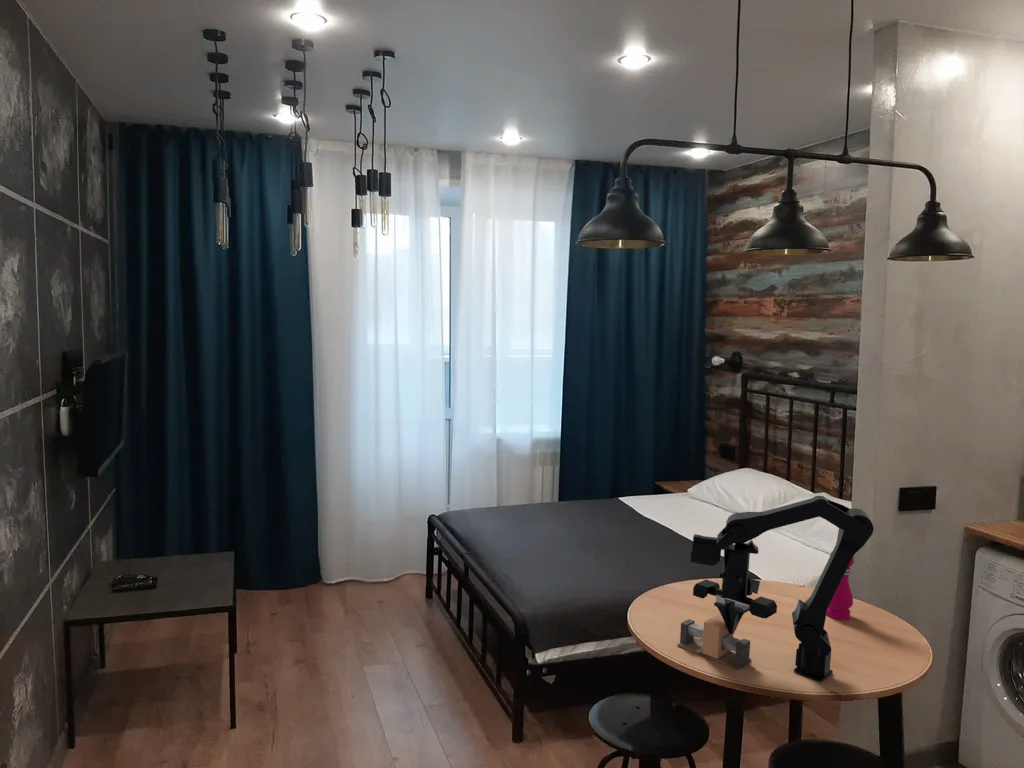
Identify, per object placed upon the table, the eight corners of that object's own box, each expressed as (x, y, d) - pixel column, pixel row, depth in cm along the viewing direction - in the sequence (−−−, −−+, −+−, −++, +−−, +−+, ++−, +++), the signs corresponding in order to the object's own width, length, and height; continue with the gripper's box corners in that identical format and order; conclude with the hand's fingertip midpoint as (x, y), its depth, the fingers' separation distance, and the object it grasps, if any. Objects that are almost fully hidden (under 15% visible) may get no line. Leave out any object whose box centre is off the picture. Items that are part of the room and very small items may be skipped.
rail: (751, 661, 181) (753, 639, 180) (738, 669, 176) (739, 647, 176) (690, 638, 192) (692, 617, 192) (676, 645, 188) (677, 624, 187)
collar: (732, 650, 184) (734, 619, 184) (717, 658, 179) (719, 627, 179) (717, 644, 187) (719, 613, 186) (702, 653, 182) (704, 621, 181)
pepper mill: (838, 608, 214) (843, 538, 212) (857, 618, 207) (863, 546, 205) (817, 611, 212) (822, 540, 210) (836, 622, 205) (842, 548, 203)
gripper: (790, 571, 178) (785, 636, 180) (717, 551, 191) (713, 612, 193) (767, 583, 170) (762, 650, 172) (693, 561, 183) (689, 624, 185)
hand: (731, 633), depth 180 cm, fingers closed
